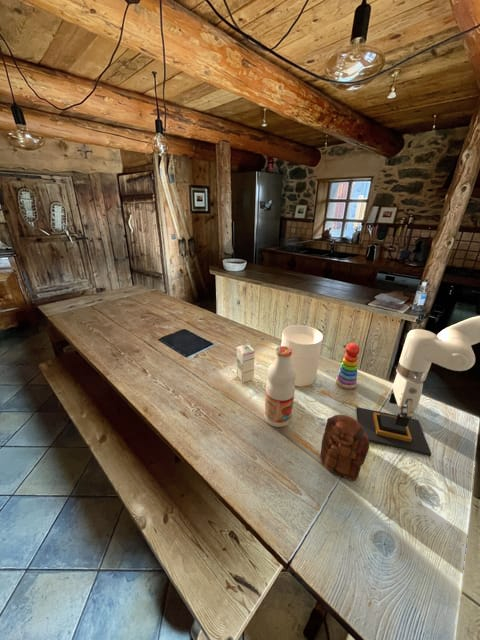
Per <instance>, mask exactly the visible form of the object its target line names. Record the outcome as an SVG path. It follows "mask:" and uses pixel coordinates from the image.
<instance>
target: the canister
mask: <svg viewBox="0 0 480 640" xmlns="http://www.w3.org/2000/svg"><path fill="white" fill-rule="evenodd" d="M323 338H324V335H323V333H322V332H321V331H320V330H319V329H316V328H315V327H312V326H309V325H304V324H294V325H289V326H286V327H285V328H284V329H283V330H282V333H281V344H280V346H287V347H289V348H291V350H292V355H291V357H290V360H291V363H292V365H293V367H294V368H295V370H296V379H295V381H294V385H295V387H307V386H311V385H312V384H314V382H316V379H317V374H318V368H319V362H320V357H321V350H322V345H323Z"/></svg>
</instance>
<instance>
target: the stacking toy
mask: <svg viewBox="0 0 480 640" xmlns="http://www.w3.org/2000/svg"><path fill="white" fill-rule="evenodd" d="M360 351H361V350H360V346H359V345H358V344H356V343H353V342H352V343H348V344H347V345H346V347H345V354H344V356H343V359H342V362H341V363H340V364H341V365H340V367H339V370H338V373H337V375H336V378H335V382H336V384H337V385H338V386H339V387H341V388H342V389H347V390H352V389H354V388H356V386H357V380H358V363H359V362H358V360H359V357H358V355H359V354H360Z"/></svg>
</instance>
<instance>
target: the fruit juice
mask: <svg viewBox="0 0 480 640" xmlns="http://www.w3.org/2000/svg"><path fill="white" fill-rule="evenodd" d="M291 355H292V350H291V348H289V347H287V346H281V345H279V346H277V347H276V349H275V359H274V361H273V362H272V363H271V364H270V365H269V366H268V367H267V378H268V379H267V381H266V384H265V395H264V396H265V398H264V410H263V411H264V412H263V416H264V417H263V418H264V419H265V421H266V422H267V424H268V425H270V426H272V427H276V428H283V427H285V426H287V425H289V424H290V422H291V420H292V415H293V406H294V398H295V393H296V386H295V385H294V381H295V379H296V370H295V368H294V367H293V365H292V363H291V360H290V357H291Z"/></svg>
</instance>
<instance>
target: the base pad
mask: <svg viewBox="0 0 480 640" xmlns="http://www.w3.org/2000/svg"><path fill="white" fill-rule="evenodd" d="M380 414H382V415H386V416H391V417H396V418H397V415H398V414H393V413H388V412H384V411H378V410H373V409H369V408H364V407H359V406H356V420H357V421H358V422H359V423H360V425H361V426H362V428H363V429H364V432H365V433H366V435H367V437H368V439H369V443H373V444H376V445H377V444H378V445H382V446H386V447H391V448H394V449H398V450H403V451H406V452H411V453H415V454H419V455H424V456H428V457H432V451H431V449H430V446H429V443H428V441H427V438H426V436H425V433H424V431H423V428H422V425H421V422H420V420H419V419H417V418H413V417H412V418H411V419H410V420H409V423H408V425H407V427H405V429H406V434H405V435H400V434H396V433H391V432H387V431H382V430H380V427H379V422H378V418H379V415H380Z"/></svg>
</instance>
